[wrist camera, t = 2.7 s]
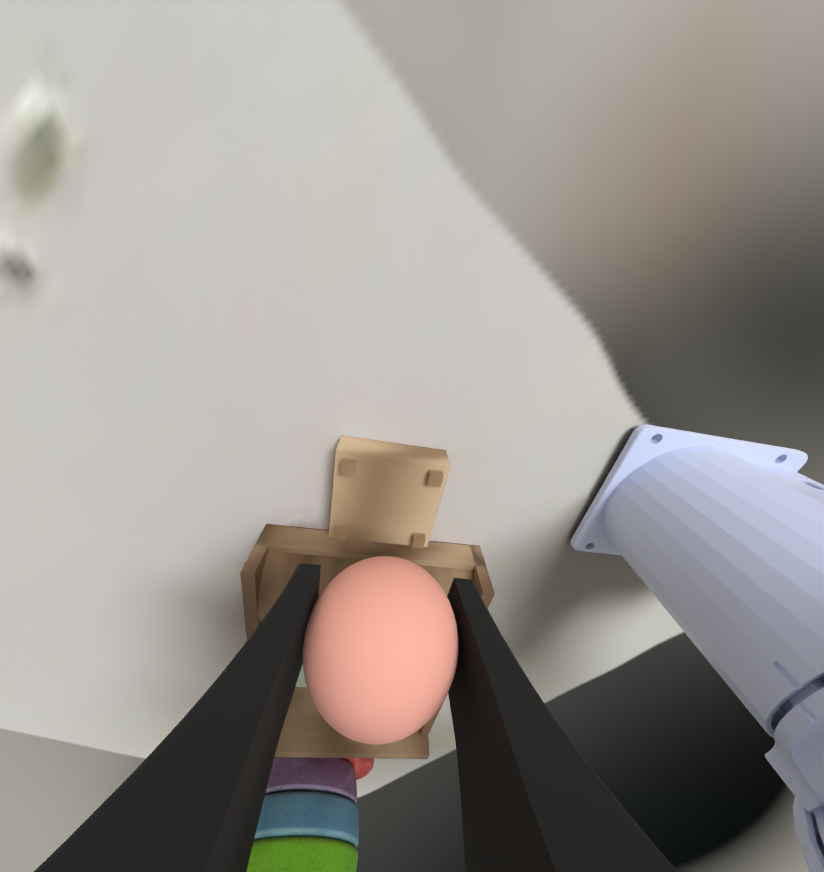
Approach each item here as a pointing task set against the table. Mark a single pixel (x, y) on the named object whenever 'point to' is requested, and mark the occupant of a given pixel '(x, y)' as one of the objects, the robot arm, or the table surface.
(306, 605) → the robot arm
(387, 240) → the table surface
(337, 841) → the stacking bear
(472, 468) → the table surface
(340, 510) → the wooden footed board
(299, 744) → the wooden tray
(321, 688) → the ball
